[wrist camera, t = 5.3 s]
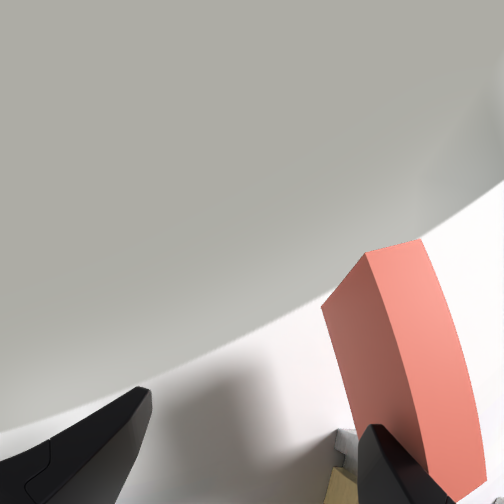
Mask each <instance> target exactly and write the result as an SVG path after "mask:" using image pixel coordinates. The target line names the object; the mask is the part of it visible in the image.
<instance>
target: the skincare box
mask: <svg viewBox="0 0 504 504" xmlns="http://www.w3.org/2000/svg"><path fill="white" fill-rule="evenodd" d="M494 504H504V497H498V498H497V499H496V501H495V503H494Z"/></svg>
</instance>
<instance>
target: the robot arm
mask: <svg viewBox="0 0 504 504" xmlns="http://www.w3.org/2000/svg"><path fill="white" fill-rule="evenodd" d="M151 414H152V396H151V391H150V390H149V389H146V388H143V387H139V386H137V387H135V388H133V389H132V390H130V391H129V392H127V393H125V394H124V395H122V396H121V397H119V398H117V399H116V400H114V401H112V402H111V403H109V404H108V405H106V406H104V407H103V408H101V409H99V410H98V411H96V412H94V413H93V414H91V415H89V416H88V417H86V418H84V419H83V420H81V421H79V422H77V423H76V424H74V425H72V426H71V427H69V428H67V429H65V430H64V431H62V432H60V433H59V434H57V435H55V436H53V437H51V438H50V440H49V439H48V440H46V441H44V442H42V443H41V444H39V445H37V446H35V447H33V448H31V449H29V450H27V451H25V452H23V453H20V454H18V455H15V456H13V457H10V458H8V459H5V460H2V461H0V504H115V502H116V500H117V498H118V496H119V493H120V491H121V489H122V487H123V485H124V483H125V481H126V479H127V477H128V475H129V473H130V471H131V469H132V466H133V464H134V462H135V460H136V458H137V456H138V453H139V450H140V447H141V444H142V441H143V438H144V435H145V432H146V429H147V426H148V423H149V420H150V417H151ZM357 491H358V503H359V504H456V503H455V502H454V501H453V500H452V499H451V497H450V496H447V493H446V492H445V491H444V490H443V489H442V488H441V487H440V486H439V485H438V484H437V483H436V482H435V481H434V479H433V478H432V477H431V476H430V475H429V474H428V473H427V472H426V471H425V470H424V469H423V468H422V467H421V466H420V464H419V463H418V462H417V461H416V460H415V459H414V458H413V457H412V456H411V455H410V454H409V453H408V451H407V450H406V449H405V448H404V447H403V446H402V445H401V444H400V443H399V442H398V441H397V439H396V438H395V437H394V436H393V435H392V434H391V433H390V432H389V431H388V430H387V428H386V427H385V426H384V425H382V424H369V425H368V426H367V428H366V430H365V431H364V433H363V435H362V436H361V438H360V440H359V442H358V471H357Z"/></svg>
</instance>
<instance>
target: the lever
mask: <svg viewBox="0 0 504 504" xmlns="http://www.w3.org/2000/svg"><path fill="white" fill-rule="evenodd" d="M321 309H322V312H323V315H324V319H325V322H326V325H327V328H328V332H329V335H330V338H331V342H332V345H333V348H334V352H335V355H336V359H337V362H338V366H339V369H340V373H341V376H342V380H343V383H344V387H345V390H346V394H347V398H348V401H349V405H350V409H351V413H352V416H353V420H354V424H355V428H356V432H357V436H358V440H360V438H361V436H362V435H363V433H364V431H365V430H366V428H367V426H368V425H369V424H382V425H384V426H385V427H386V428H387V430H388V431H389V432H390V433H391V434H392V435H393V436H394V437H395V438H396V439H397V441H398V442H399V443H400V444H401V445H402V446H403V447H404V448H405V449H406V450H407V451H408V453H409V454H410V455H411V456H412V457H413V458H414V459H415V460H416V461H417V462H418V463H419V464H420V466H421V467H422V468H423V469H424V470H425V471H426V472H427V473H428V474H429V475H430V476H431V477H432V478H433V479H434V481H435V482H436V483H437V484H438V485H439V486H440V487H441V488H442V489H443V490H444V491H445V492H446V493H447V496H450V497H451V499H452V500H453V501H454V502H455V503H456V502H458V501H459V500H461V499H462V498H464V497H465V496H466V495H468V494H469V493H471V492H472V491H473V490H475V489H476V488H478V487H479V486H480V485H482V484H483V483H484V482H485V481H487V476H486V466H485V457H484V449H483V442H482V436H481V430H480V424H479V418H478V413H477V408H476V403H475V399H474V394H473V390H472V386H471V381H470V377H469V373H468V370H467V366H466V362H465V358H464V355H463V351H462V348H461V345H460V341H459V338H458V335H457V332H456V329H455V325H454V322H453V319H452V316H451V314H450V311H449V308H448V305H447V302H446V299H445V297H444V294H443V291H442V289H441V286H440V284H439V281H438V278H437V276H436V273H435V271H434V269H433V266H432V264H431V261H430V259H429V257H428V254H427V252H426V250H425V247H424V245H423V243H422V241H421V239H417V240H414V241H410V242H406V243H402V244H398V245H394V246H390V247H386V248H382V249H378V250H374V251H370V252H366V253H364V255H363V256H362V257H361V258H360V260H359V261H358V262H357V264H356V265H355V266H354V267H353V269H352V270H351V271H350V272H349V273H348V275H347V276H346V277H345V278H344V280H343V281H342V282H341V283H340V284H339V286H338V287H337V288H336V289H335V291H334V292H333V293H332V294H331V295H330V297H329V298H328V299H327V300H326V301H325V302H324V304H323V305H322V306H321Z"/></svg>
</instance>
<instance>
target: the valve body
mask: <svg viewBox="0 0 504 504" xmlns="http://www.w3.org/2000/svg"><path fill="white" fill-rule="evenodd" d="M358 442H359V440H358V436H357V432H356V430H350V429H338V432H337V437H336V441H335V446H334V448H335V449H337V450H339V451H340V452H342V453H344V454H346V456H345V460H344V464H343V467H333V469H332V473H331V477H330V481H329V485H328V488H327V492H326V496H325V499H324V503H323V504H359V503H358V491H357V471H358Z"/></svg>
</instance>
